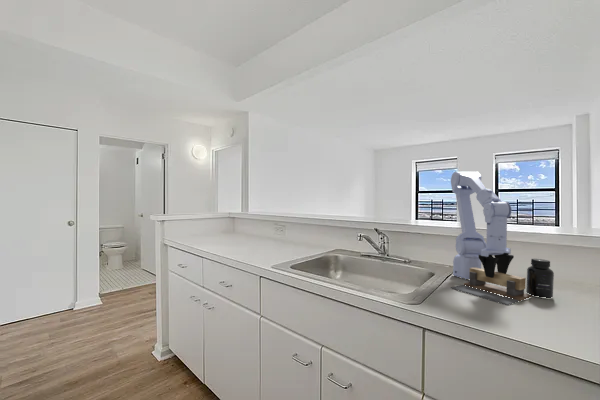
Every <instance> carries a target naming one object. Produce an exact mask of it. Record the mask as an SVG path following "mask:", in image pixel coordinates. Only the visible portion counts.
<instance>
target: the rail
mask: <svg viewBox="0 0 600 400" xmlns="http://www.w3.org/2000/svg"><path fill="white" fill-rule="evenodd" d="M470 272H475V273H477V280H481V281H485V282H486V283H489V284H492V285H496V286H499V287H500V286H501V287H503V288H507V280H510V281H514V282H515V289H516V290H523V289H524V290H526V283H527V277H523V276H518V275H513V274H508V273H506V274H504V273H500V272H498V271H495V273H494V277H493V278H490V277H486V275H485V271H484V268H482V267H481V268H476V267H474V268H470V271H469V278H470Z"/></svg>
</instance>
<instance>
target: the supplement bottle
mask: <svg viewBox="0 0 600 400" xmlns="http://www.w3.org/2000/svg"><path fill="white" fill-rule="evenodd" d="M530 261H531V262H530V266H528V267H527V268H526V283H525V292H527V293H529V294H531V295H534V296H539V297H546V298H551V297H554V278H555V273H554V271H553V270H552V269H551V268H550V267H551V261H550V260H548V259H542V258H531V259H530ZM527 293H526V294H527Z"/></svg>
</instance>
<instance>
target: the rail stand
mask: <svg viewBox="0 0 600 400" xmlns="http://www.w3.org/2000/svg"><path fill="white" fill-rule="evenodd" d="M463 285H466V286H470V287H473V288H477V289H481V290H485V291H488V292H492V293H496V294H500V295H503V296H507V297H510V298H513V299H516V300H519V302H520V301H521V300H524V299H526V298H529V297H532V298H533V296H532V295H528V294H527V293H525V289H523V290H516V289H515V282H514V281H510V280H507V287H502V286H501V287H500V286H498V285H494V284H490V283H489V284H488V283H487V282H485V281H481V280H477V273H475V272H470V280H469V281H467V282H463ZM524 301H525V300H524ZM521 302H522V301H521Z"/></svg>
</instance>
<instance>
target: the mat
mask: <svg viewBox="0 0 600 400" xmlns="http://www.w3.org/2000/svg"><path fill="white" fill-rule="evenodd" d="M451 288H452V289H451ZM450 289H451V290H455V291H458V290H459V292H461V291H462V293H465V292H466V293H465V294H468V293H469V294H468V295H471V294H472V296H474V295H476V296H475V297H478V296H479V298H481V297H482V299H484V298H485V300H488V299H489V300H488V301H491V300H492V301H491V302H494V301H495V303H498V302H499V303H498V304H501V303H502V305H504V304H505V306H509V304H510V305H513V304H512V303H514V304H516V303H515V302H517V303H519V302H520V301H519V300H516V299H512V298H508V297H505V296H504V297H502V296H499V295H497V294H494V293H490V292H487V291H483V290H480V289H476V288H472V287H469V286H465V285H464V284H460V285H459V284H458V285H455V286H450ZM518 301H519V302H518Z"/></svg>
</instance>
